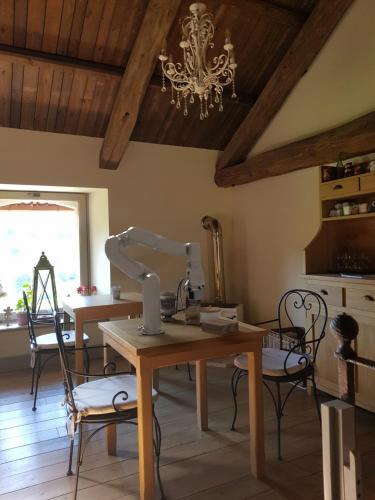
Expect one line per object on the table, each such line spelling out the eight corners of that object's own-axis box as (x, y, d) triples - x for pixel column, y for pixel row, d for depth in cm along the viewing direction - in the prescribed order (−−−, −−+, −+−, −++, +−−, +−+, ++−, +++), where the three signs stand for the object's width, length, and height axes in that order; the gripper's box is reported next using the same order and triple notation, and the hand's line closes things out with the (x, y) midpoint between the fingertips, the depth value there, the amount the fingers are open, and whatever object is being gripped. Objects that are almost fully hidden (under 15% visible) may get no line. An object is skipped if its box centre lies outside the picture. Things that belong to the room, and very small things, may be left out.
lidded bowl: (207, 327, 218) (206, 307, 218) (196, 323, 229) (195, 305, 229) (225, 324, 224) (225, 305, 224) (213, 321, 235) (213, 303, 235)
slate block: (196, 300, 206) (195, 290, 206) (188, 299, 210) (187, 290, 210) (203, 298, 210) (203, 289, 210) (195, 298, 214) (195, 289, 214)
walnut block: (220, 335, 199) (220, 326, 199) (201, 331, 209) (201, 322, 209) (238, 331, 208) (238, 322, 208) (219, 327, 219) (219, 318, 219)
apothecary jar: (162, 318, 250) (162, 290, 250) (180, 318, 246) (179, 290, 246) (155, 321, 238) (154, 292, 238) (173, 322, 235) (173, 292, 235)
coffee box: (184, 324, 227) (185, 296, 227) (185, 321, 234) (185, 295, 234) (200, 324, 227) (200, 297, 227) (200, 322, 234) (200, 295, 233)
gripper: (187, 266, 201) (189, 300, 201) (209, 264, 213) (211, 296, 213) (177, 266, 206) (179, 299, 207) (200, 264, 218) (201, 295, 219)
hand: (195, 297), depth 210 cm, fingers closed on slate block, 6 cm apart
